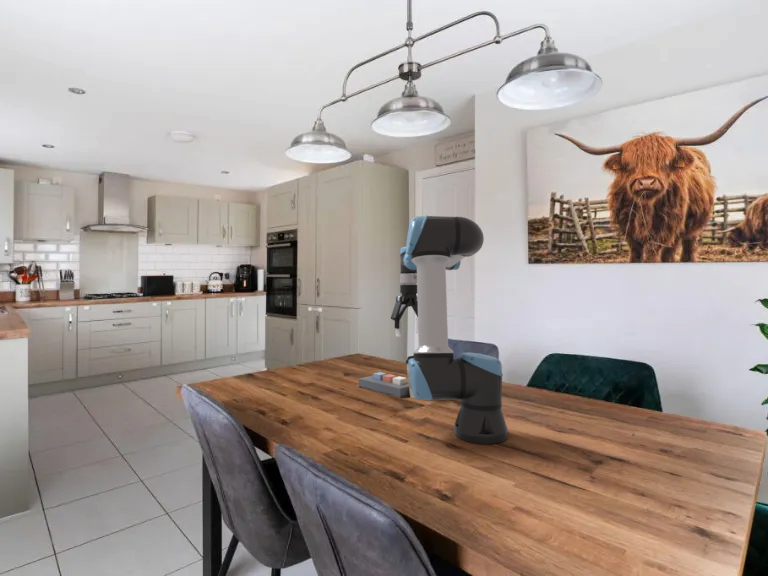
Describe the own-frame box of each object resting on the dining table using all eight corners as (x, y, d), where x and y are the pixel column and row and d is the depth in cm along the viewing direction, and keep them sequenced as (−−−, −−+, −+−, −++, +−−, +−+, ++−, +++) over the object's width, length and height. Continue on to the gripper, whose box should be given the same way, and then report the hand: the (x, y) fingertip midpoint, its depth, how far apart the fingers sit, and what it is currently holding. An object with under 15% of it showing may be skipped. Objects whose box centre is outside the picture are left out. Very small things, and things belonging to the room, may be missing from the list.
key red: (389, 383, 173) (389, 377, 173) (382, 381, 176) (382, 375, 176) (396, 381, 176) (396, 375, 176) (389, 380, 178) (389, 374, 178)
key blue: (380, 381, 177) (380, 375, 177) (373, 379, 179) (373, 373, 179) (386, 379, 180) (386, 373, 179) (379, 378, 182) (380, 372, 182)
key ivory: (400, 385, 169) (400, 379, 169) (392, 384, 172) (392, 377, 172) (406, 384, 172) (406, 377, 172) (399, 382, 175) (399, 376, 175)
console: (400, 397, 163) (400, 388, 163) (358, 387, 179) (358, 378, 179) (421, 391, 172) (421, 382, 172) (380, 381, 188) (380, 373, 188)
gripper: (396, 284, 168) (396, 339, 169) (434, 283, 186) (433, 332, 187) (382, 284, 173) (382, 337, 174) (420, 283, 191) (420, 331, 192)
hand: (408, 334), depth 180 cm, fingers open, 13 cm apart
